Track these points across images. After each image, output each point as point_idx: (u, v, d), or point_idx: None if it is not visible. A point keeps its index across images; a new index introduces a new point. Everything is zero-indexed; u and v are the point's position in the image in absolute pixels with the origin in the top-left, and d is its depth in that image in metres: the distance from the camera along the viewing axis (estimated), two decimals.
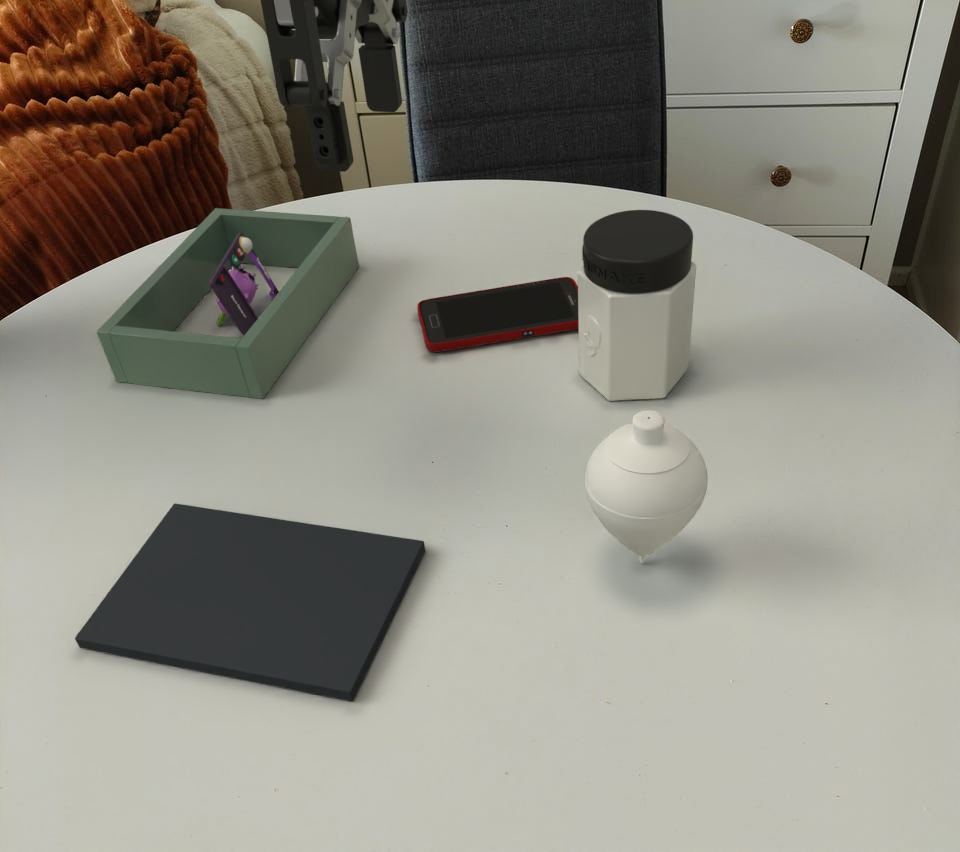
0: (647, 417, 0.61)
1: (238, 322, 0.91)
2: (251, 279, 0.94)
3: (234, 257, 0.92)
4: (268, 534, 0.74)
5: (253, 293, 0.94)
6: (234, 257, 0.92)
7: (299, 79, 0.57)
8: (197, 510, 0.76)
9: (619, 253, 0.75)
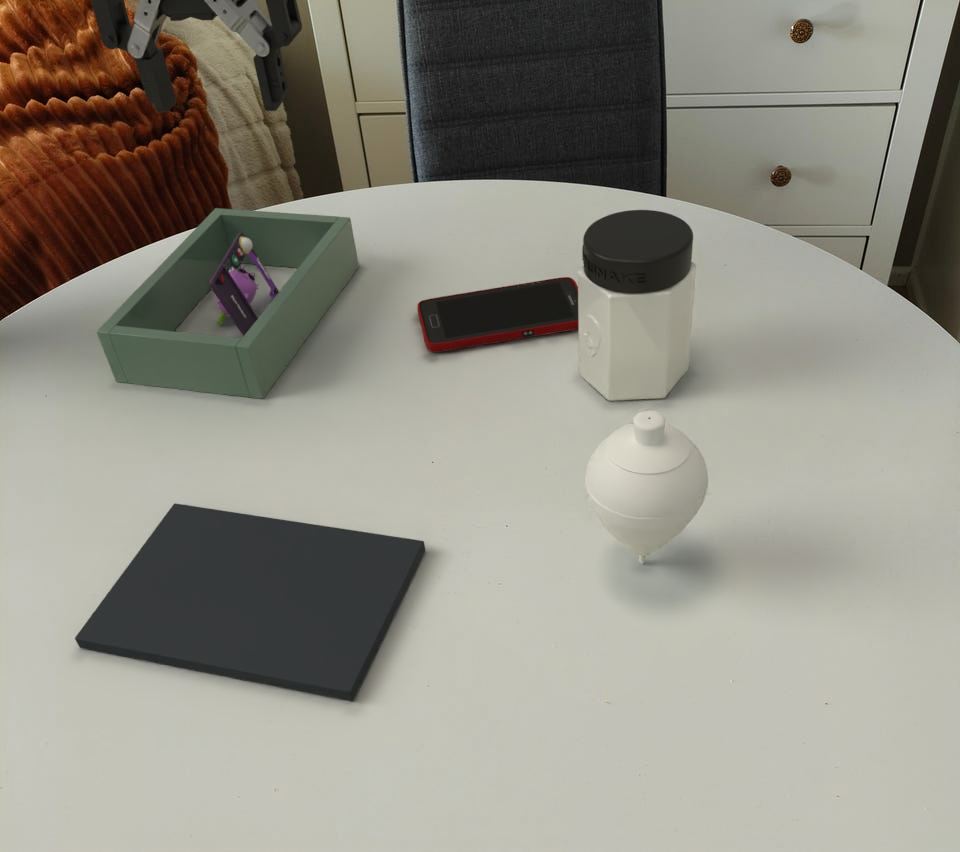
0: (648, 417, 0.61)
1: (238, 322, 0.91)
2: (251, 279, 0.94)
3: (234, 257, 0.92)
4: (268, 534, 0.74)
5: (253, 293, 0.94)
6: (234, 257, 0.92)
7: None
8: (197, 510, 0.76)
9: (619, 253, 0.75)
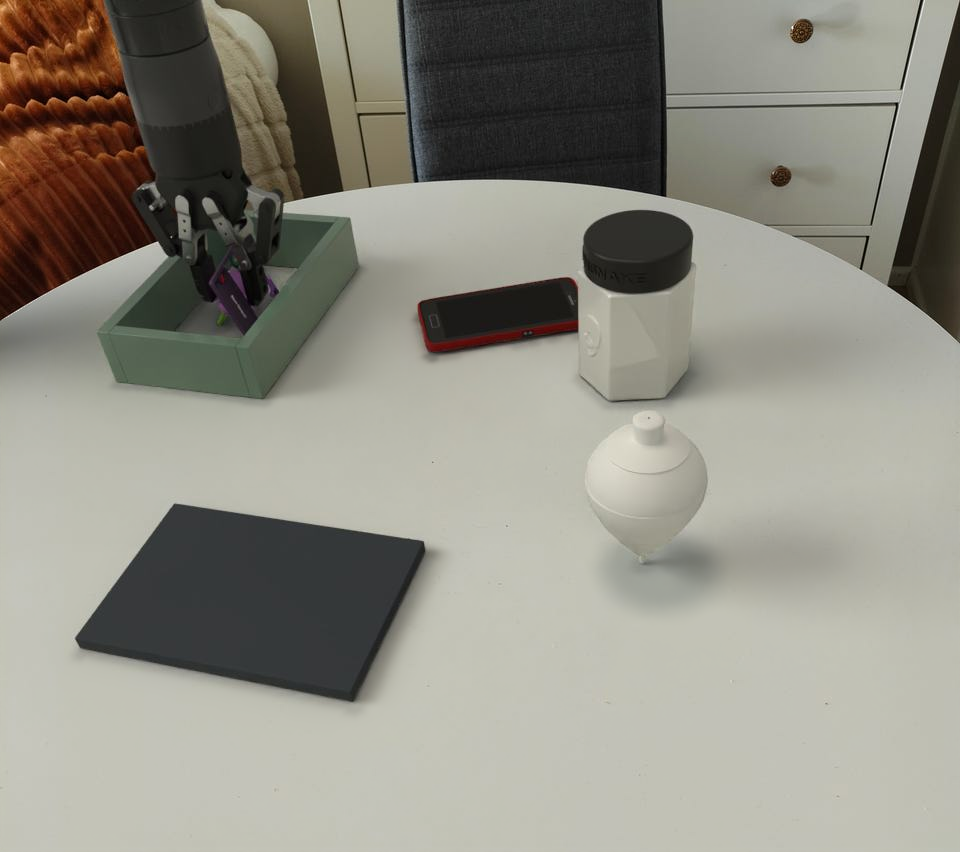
0: (647, 417, 0.61)
1: (238, 322, 0.91)
2: None
3: (234, 257, 0.92)
4: (268, 534, 0.74)
5: None
6: (234, 257, 0.92)
7: None
8: (197, 510, 0.76)
9: (619, 253, 0.75)
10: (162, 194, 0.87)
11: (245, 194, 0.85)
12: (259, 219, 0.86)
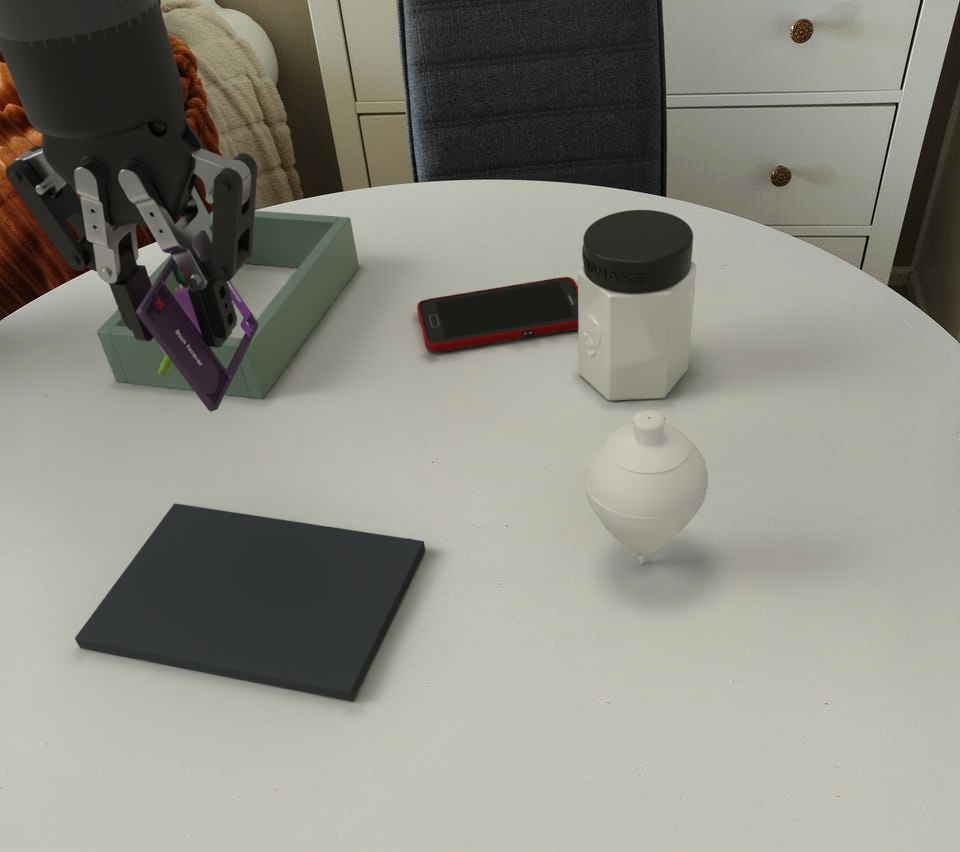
0: (648, 417, 0.61)
1: (188, 374, 0.56)
2: None
3: None
4: (268, 534, 0.74)
5: None
6: None
7: None
8: (197, 510, 0.76)
9: (619, 253, 0.75)
10: (54, 167, 0.52)
11: (190, 163, 0.50)
12: (215, 205, 0.51)
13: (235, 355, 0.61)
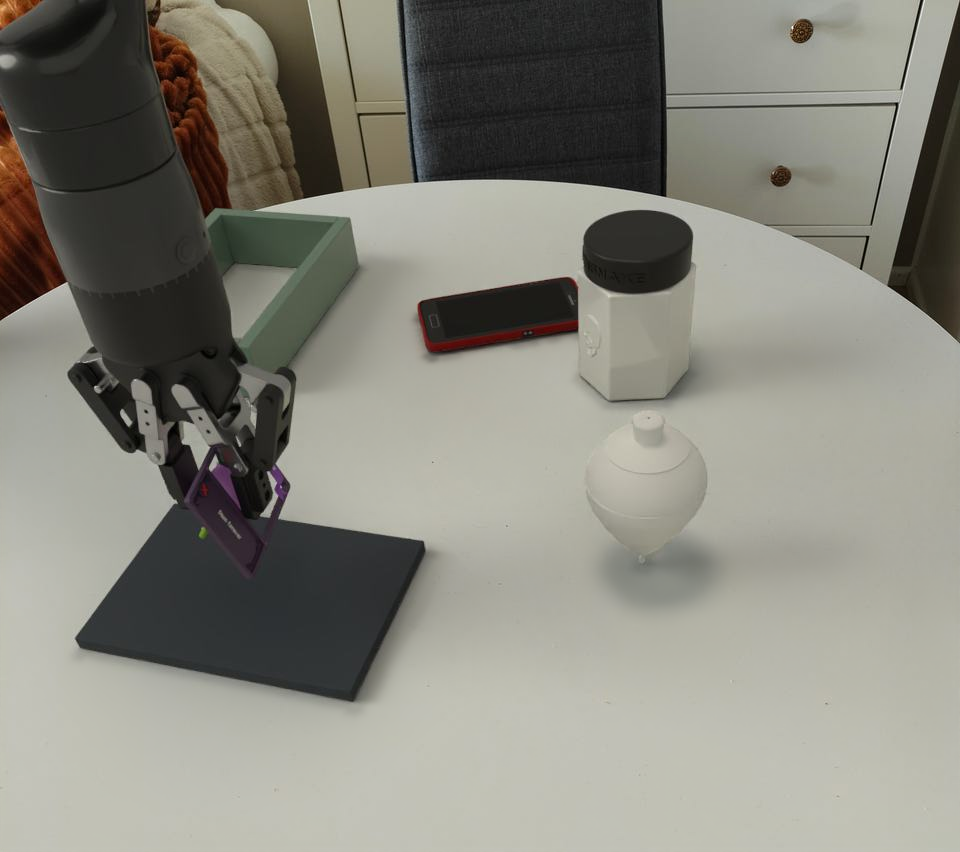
0: (647, 417, 0.61)
1: (229, 550, 0.61)
2: None
3: None
4: None
5: None
6: None
7: None
8: None
9: (619, 253, 0.75)
10: (112, 373, 0.58)
11: (237, 378, 0.56)
12: (259, 414, 0.56)
13: (270, 520, 0.66)
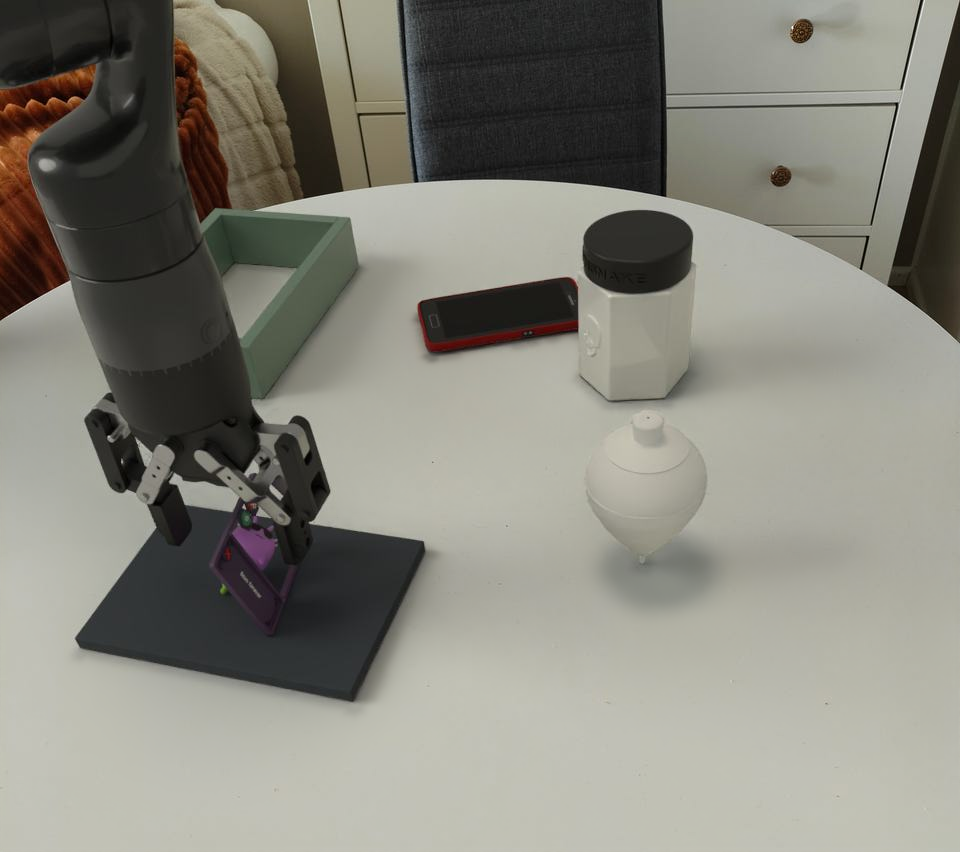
0: (647, 417, 0.61)
1: (250, 609, 0.65)
2: (268, 537, 0.68)
3: (244, 516, 0.66)
4: None
5: (270, 555, 0.69)
6: (245, 514, 0.66)
7: None
8: (197, 510, 0.76)
9: (619, 253, 0.75)
10: (137, 437, 0.61)
11: (254, 438, 0.59)
12: (282, 465, 0.59)
13: (287, 577, 0.70)
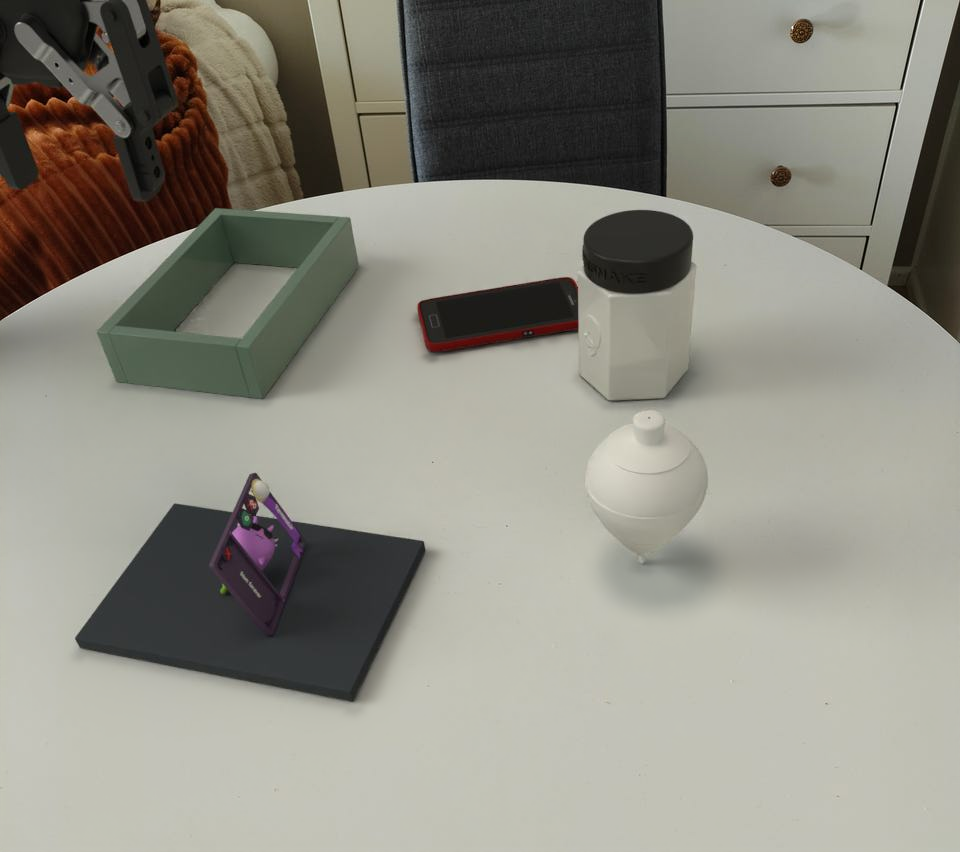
0: (647, 417, 0.61)
1: (250, 609, 0.65)
2: (268, 537, 0.68)
3: (244, 516, 0.66)
4: None
5: (270, 555, 0.69)
6: (245, 514, 0.66)
7: None
8: (197, 510, 0.76)
9: (619, 253, 0.75)
10: None
11: (81, 9, 0.52)
12: (112, 42, 0.52)
13: (287, 577, 0.70)
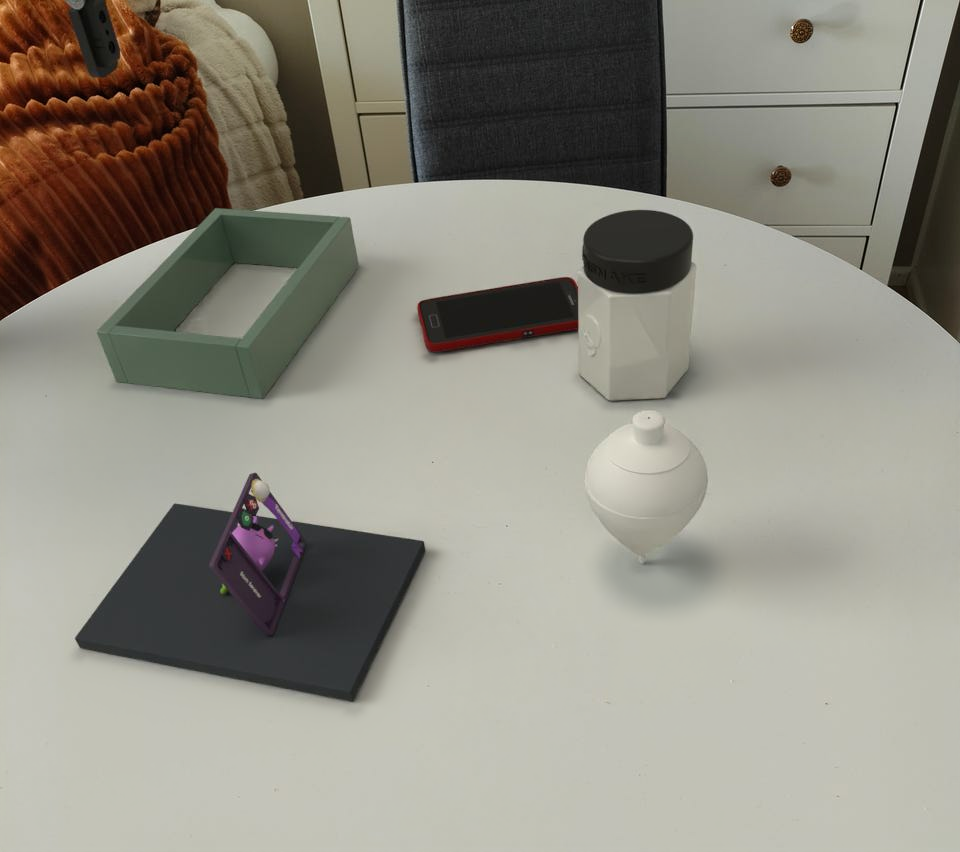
0: (647, 417, 0.61)
1: (250, 609, 0.65)
2: (268, 537, 0.68)
3: (244, 516, 0.66)
4: None
5: (270, 555, 0.69)
6: (245, 514, 0.66)
7: None
8: (197, 510, 0.76)
9: (619, 253, 0.75)
10: None
11: None
12: None
13: (287, 577, 0.70)
